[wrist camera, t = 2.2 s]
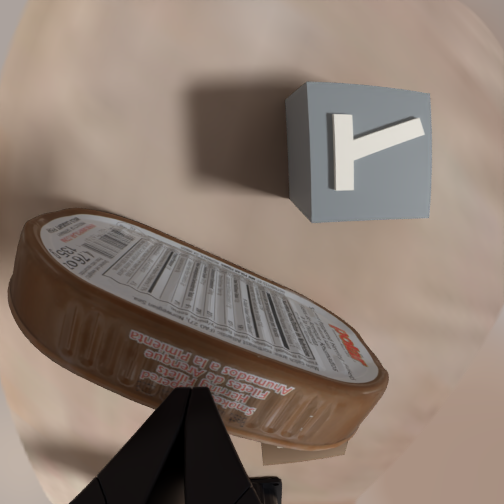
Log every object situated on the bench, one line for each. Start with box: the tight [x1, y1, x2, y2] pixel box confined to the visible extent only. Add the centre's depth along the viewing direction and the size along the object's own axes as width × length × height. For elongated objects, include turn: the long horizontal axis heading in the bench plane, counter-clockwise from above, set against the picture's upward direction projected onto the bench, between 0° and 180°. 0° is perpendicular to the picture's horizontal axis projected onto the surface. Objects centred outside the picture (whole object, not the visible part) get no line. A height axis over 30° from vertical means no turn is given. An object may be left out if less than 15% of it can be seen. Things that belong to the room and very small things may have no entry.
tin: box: [8, 208, 389, 451], centre depth 11 cm, size 15×3×8 cm, turn 64°
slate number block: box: [285, 82, 432, 223], centre depth 12 cm, size 4×4×5 cm
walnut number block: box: [261, 441, 348, 465], centre depth 16 cm, size 4×4×5 cm
